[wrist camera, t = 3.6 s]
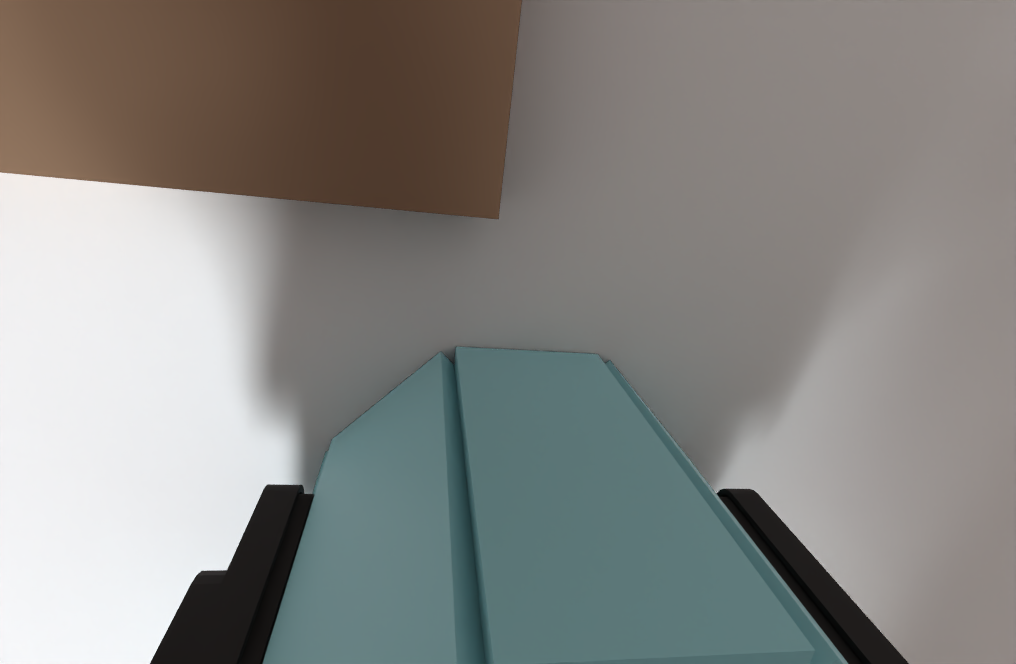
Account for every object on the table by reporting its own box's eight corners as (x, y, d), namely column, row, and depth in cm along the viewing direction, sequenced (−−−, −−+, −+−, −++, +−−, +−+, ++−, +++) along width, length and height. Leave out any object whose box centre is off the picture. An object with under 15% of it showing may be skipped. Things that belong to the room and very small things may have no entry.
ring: (708, 360, 10) (1040, 640, 5) (636, 631, 13) (798, 1029, 7) (325, 339, 9) (161, 681, 3) (326, 643, 11) (231, 1131, 6)
